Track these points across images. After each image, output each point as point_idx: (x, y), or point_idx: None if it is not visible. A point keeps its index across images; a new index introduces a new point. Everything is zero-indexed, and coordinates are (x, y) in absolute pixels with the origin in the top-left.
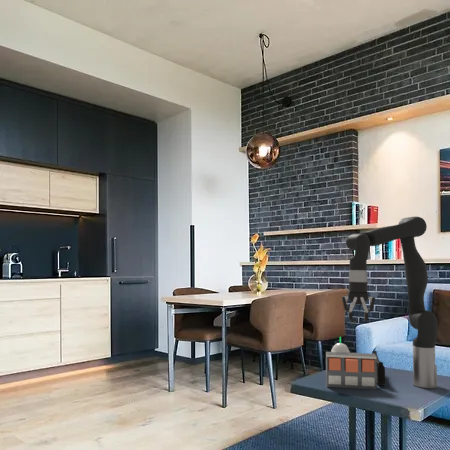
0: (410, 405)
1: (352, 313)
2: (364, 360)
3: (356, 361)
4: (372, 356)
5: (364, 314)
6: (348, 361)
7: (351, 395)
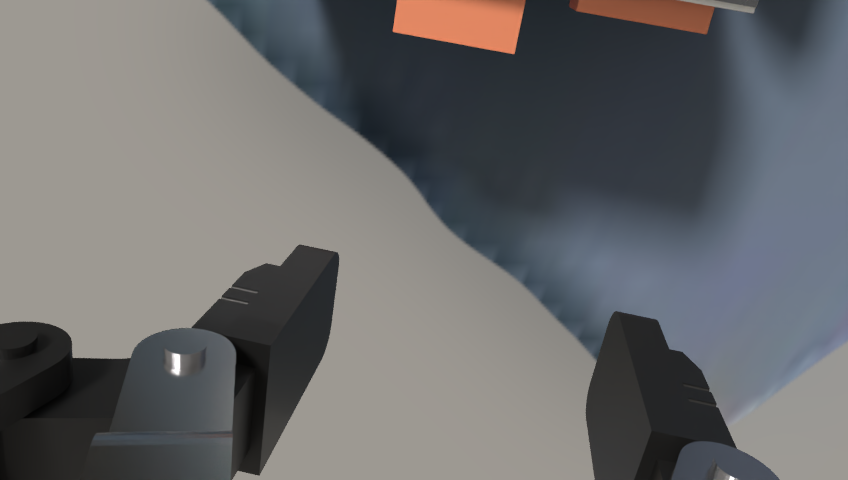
0: (721, 365)
1: (265, 460)
2: (599, 13)
3: (500, 49)
4: (707, 5)
5: (628, 431)
6: (420, 35)
7: (433, 163)
